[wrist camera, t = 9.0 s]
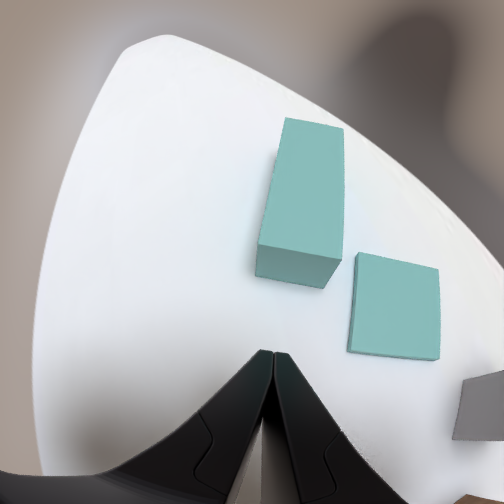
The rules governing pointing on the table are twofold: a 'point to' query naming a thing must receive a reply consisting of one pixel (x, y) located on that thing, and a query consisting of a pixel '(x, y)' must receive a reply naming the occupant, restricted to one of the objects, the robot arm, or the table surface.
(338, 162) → the teal pillar
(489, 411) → the grey pillar
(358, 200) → the table surface
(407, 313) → the teal colour card
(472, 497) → the walnut pillar
